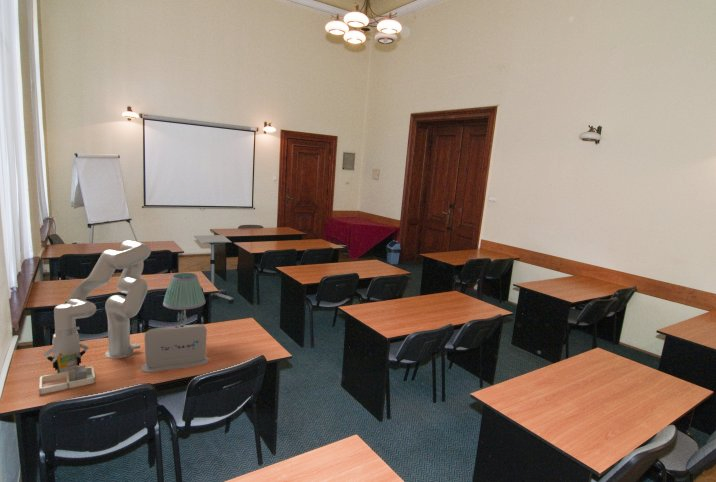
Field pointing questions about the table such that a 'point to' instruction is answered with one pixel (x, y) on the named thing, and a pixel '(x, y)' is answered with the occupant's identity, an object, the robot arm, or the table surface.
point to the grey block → (80, 373)
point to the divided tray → (64, 381)
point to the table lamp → (184, 294)
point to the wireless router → (175, 347)
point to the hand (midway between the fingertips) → (67, 366)
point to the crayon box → (66, 363)
